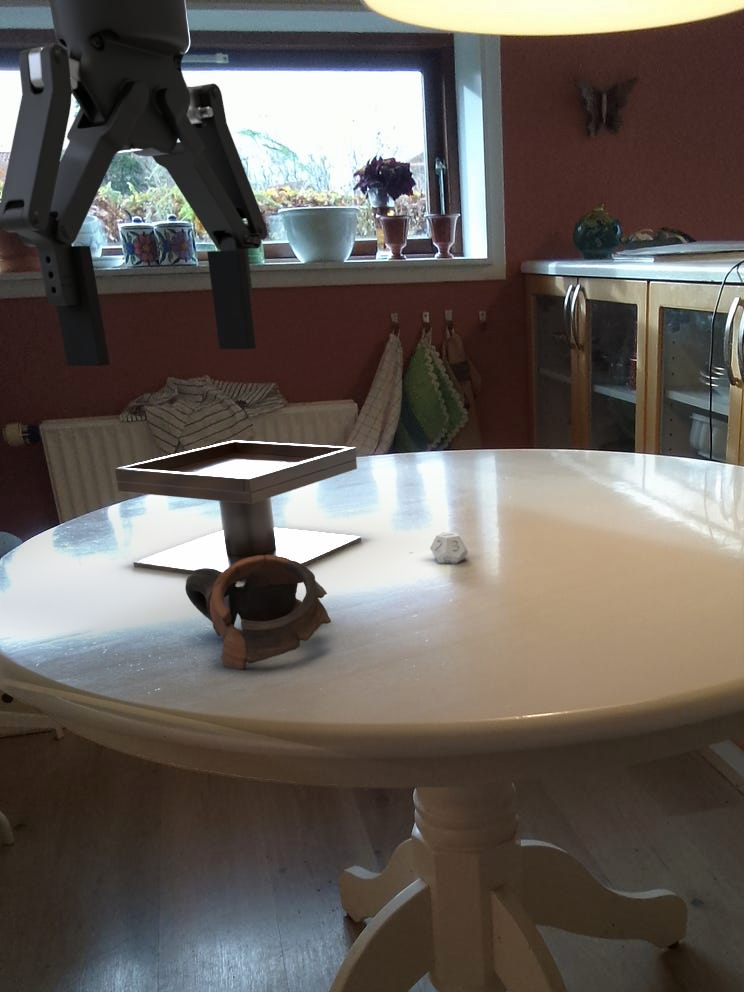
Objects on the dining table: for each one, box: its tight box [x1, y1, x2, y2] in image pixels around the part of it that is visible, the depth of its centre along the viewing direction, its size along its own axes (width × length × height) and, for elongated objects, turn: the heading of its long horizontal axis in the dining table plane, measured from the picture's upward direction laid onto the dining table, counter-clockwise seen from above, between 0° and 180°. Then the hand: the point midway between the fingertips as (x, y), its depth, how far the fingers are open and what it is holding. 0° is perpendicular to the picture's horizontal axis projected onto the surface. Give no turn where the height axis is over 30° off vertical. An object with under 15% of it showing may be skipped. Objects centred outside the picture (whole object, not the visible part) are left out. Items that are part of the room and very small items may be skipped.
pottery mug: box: [184, 555, 332, 670], centre depth 68 cm, size 12×10×8 cm
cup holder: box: [114, 440, 362, 583], centre depth 92 cm, size 16×17×10 cm
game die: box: [429, 531, 469, 564], centre depth 89 cm, size 4×4×3 cm
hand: (170, 356), depth 61 cm, fingers open, 13 cm apart
